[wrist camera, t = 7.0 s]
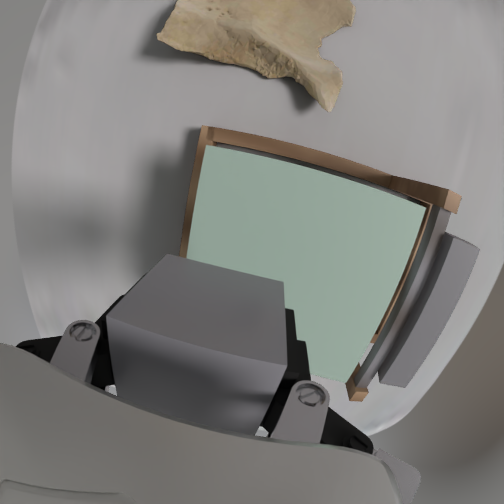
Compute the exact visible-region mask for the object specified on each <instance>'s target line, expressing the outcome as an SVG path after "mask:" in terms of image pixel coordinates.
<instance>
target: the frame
mask: <svg viewBox="0 0 504 504" xmlns="http://www.w3.org/2000/svg"><path fill="white" fill-rule="evenodd" d="M217 142H220V143H225V144H230V145H235V146H240V147H245V148H250V149H255V150H259V151H264V152H268V153H272V154H277V155H281V156H285V157H289V158H293V159H297V160H300V161H304V162H308V163H311V164H315V165H319V166H322V167H326V168H329V169H332V170H336V171H339V172H342V173H345V174H348V175H351V176H355V177H358V178H361V179H364V180H367V181H369V182H372V183H375V184H378V185H381V186H384V187H386V188H389V189H392V190H394V191H397V192H400V193H402V194H405V195H407V196H410V197H412V198H415V199H417V200H420V201H421V203H420V205H421V206H423V207H425V208H426V210H425V213H424V216H423V219H422V222H421V225H420V228H419V231H418V234H417V237H416V240H415V243H414V246H413V248H412V251H411V254H410V256H409V259H408V261H407V264H406V266H405V269H404V271H403V274H402V276H401V279H400V281H399V283H398V286H397V288H396V290H395V292H394V295H393V297H392V299H391V301H390V303H389V305H388V308H387V310H386V312H385V314H384V316H383V318H382V320H381V322H380V324H379V326H378V328H377V330H376V332H375V334H374V336H373V337H372V339H371V341H370V343H374V345H373V347H372V349H371V351H370V352H369V354H368V356H367V357H366V359H365V361H364V363H363V364H362V366H361V367H360V364H359V362H358V364H357V366H356V368H355V369H354V371H353V373H352V374H351V376H350V377H349V379H348V381H347V382H346V383H345V384H346V388H347V392H348V397H349V401H361V402H362V401H363V399H364V398H365V397H366V395H367V394H368V393H369V392H368V389H367V386H368V385H369V383H370V382H371V380H372V379H373V377H374V376H375V374H376V373H377V371H378V370H379V368H380V367H381V365H382V363H383V362H384V360H385V358H386V357H387V355H388V354H389V352H390V350H391V348H392V347H393V345H394V343H395V342H396V340H397V338H398V336H399V334H400V333H401V331H402V329H403V327H404V325H405V323H406V321H407V320H408V318H409V316H410V314H411V312H412V310H413V308H414V306H415V304H416V302H417V299H418V297H419V295H420V293H421V291H422V289H423V286H424V284H425V282H426V280H427V277H428V275H429V273H430V270H431V268H432V265H433V263H434V260H435V258H436V255H437V253H438V250H439V247H440V244H441V242H442V239H443V236H444V233H445V230H446V227H447V224H448V221H449V218H450V214H451V212H452V213H455V214H457V211H458V207H459V204H460V200H461V197H462V196H460V195H458V194H457V193H455V192H453V191H451V190H449V189H445V188H441V187H438V186H434V185H430V184H426V183H422V182H418V181H414V180H410V179H406V178H402V177H397V176H392V175H390V174H387V173H384V172H382V171H379V170H376V169H374V168H371V167H368V166H365V165H362V164H359V163H356V162H353V161H350V160H347V159H344V158H341V157H338V156H335V155H331V154H328V153H325V152H321V151H318V150H314V149H311V148H307V147H303V146H300V145H296V144H292V143H288V142H284V141H280V140H276V139H271V138H267V137H263V136H258V135H253V134H248V133H243V132H238V131H233V130H227V129H222V128H216V127H209V126H203V125H202V127H201V132H200V136H199V141H198V146H197V151H196V156H195V161H194V166H193V171H192V176H191V182H190V187H189V193H188V199H187V205H186V211H185V218H184V224H183V231H182V238H181V246H180V253H179V257H183V258H187V250H188V243H189V237H190V230H191V224H192V218H193V212H194V206H195V200H196V194H197V189H198V183H199V178H200V173H201V168H202V163H203V158H204V153H205V148H206V145H210V146H215V147H216V145H217Z"/></svg>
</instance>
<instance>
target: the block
mask: <svg viewBox="0 0 504 504" xmlns="http://www.w3.org/2000/svg"><path fill="white" fill-rule="evenodd" d="M106 320H107V331H108V340H109V348H110V355H111V362H112V369H113V375H114V381H115V386H116V391H117V396H118V397H121V398H123V399H126V400H128V401H131V402H133V403H136V404H139V405H141V406H144V407H147V408H150V409H152V410H155V411H158V412H161V413H164V414H168V415H171V416H174V417H177V418H181V419H184V420H188V421H191V422H195V423H199V424H203V425H207V426H211V427H215V428H219V429H224V430H228V431H233V432H238V433H244V434H249V435H255V433H256V432H257V430H258V428H259V426H260V424H261V422H262V420H263V418H264V416H265V414H266V411H267V409H268V407H269V405H270V403H271V401H272V399H273V397H274V395H275V392H276V390H277V388H278V386H279V384H280V381H281V379H282V377H283V375H284V372H285V370H286V368H287V342H286V319H285V299H284V282H282V281H278V280H273V279H269V278H265V277H261V276H256V275H252V274H248V273H244V272H240V271H236V270H231V269H227V268H223V267H219V266H215V265H211V264H207V263H203V262H199V261H195V260H191V259H187V258H183V257H179V256H175V255H171V254H168V253H167V254H166V255H165V256H164V257H163V258H162V259H161V260H160V261H159V262H158V263H157V264H156V265H155V266H154V267H153V268H152V269H151V270H150V271H149V272H148V273H147V274H146V275H145V276H144V277H143V278H142V279H141V280H140V281H139V282H138V283H137V284H136V285H135V286H134V287H133V288H132V289H131V290H130V291H129V292H128V293H127V294H126V295H125V296H124V298H123V299H122V300H121V301H120V302H119V303H118V304H117V305H116V306H115V307H114V308H113V309H112V310H111V311H110V312H109V313H108V314H107V315H106Z"/></svg>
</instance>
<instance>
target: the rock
mask: <svg viewBox="0 0 504 504" xmlns="http://www.w3.org/2000/svg"><path fill="white" fill-rule="evenodd" d="M355 12H356V9H355V7H354V5H353V4H352V3H351V2H350V0H177V2H176V4H175V8H174V10H173V11H172V13H171V15H170V16H169V18H168V19H167V21H166V23H165V25H164V27H163V29H162V31H161V33H156V35H157V38H158V40H160V41H162V42H164V43H166V44H168V45H169V46H171V47H173V48H175V49H176V50H181V51H186V52H192V53H195V54H199V55H202V56H204V57H207V58H209V59H212V60H215V61H219V62H223V63H228V64H235V65H238V66H242V67H248V68H251V69H253V70H255V71H259V73H261V74H262V75H263V76H266V77H267V78H280V77H285V76H287V77H293V78H294V79H295V81H296V82H298V83H300V84H301V85H303V86H305V89H306V90H307V91H308V93H309V94H310V95H311V96H312V97H313V98H314V99H316V100H317V101H318V103H319V104H320V105H321V107H322V108H324V109H325V110H326V111H327V112H331V111H332V108H333V107H334V106H335V102H336V100H337V97H338V94H339V92H340V89H341V87H342V85H343V81H342V71H340V69H339V68H338V67H336V66H335V64H334V63H333V62H332V61H328V60H324V59H322V58H321V57H320V56H319V51H318V48H319V47H321V45H322V44H321V43H322V41H321V39H322V38H324V37H326V36H329V35H330V34H333V33H334V32H336V30H338V29H340V28H341V27H349V26H350V27H351V26H352V23H353V18H354V15H355ZM283 79H284V78H283Z"/></svg>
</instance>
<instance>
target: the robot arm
mask: <svg viewBox="0 0 504 504" xmlns="http://www.w3.org/2000/svg"><path fill="white" fill-rule="evenodd" d="M146 274H147V273H146ZM146 274H145V275H146ZM145 275H144V276H145ZM144 276H143V277H144ZM143 277H142V278H143ZM142 278H141V279H142ZM141 279H140V280H141ZM140 280H139V281H140ZM139 281H138V282H139ZM138 282H137V283H138ZM137 283H136V284H137ZM136 284H135V285H136ZM135 285H134V286H135ZM134 286H133V287H134ZM133 287H132V288H133ZM132 288H131V289H132ZM131 289H130V290H131ZM130 290H129V291H130ZM129 291H128V292H129ZM128 292H127V293H128ZM127 293H126V294H127ZM126 294H125V295H126ZM125 295H122V296H120V297H119V298H118V299H117V300H116V301H115V302H114V303H113V304H112V305H111V306H110V308H109V309H108V310H107V311H106V312H105V313H104V314H103V315H102V316H101V317H100V318H99V319H98V320H97V321H96V322H95V323H94V322H91V321H88V320H78V321H75V322H72V323H71V324H70V325H69V326H68V327H67V328H66V330H65V332H64V334H63V336H57V337H50V338H42V339H35V340H27V341H23V342H21V343H19V344H18V345H17V346H16V347H15V346H12V345H7V344H3V343H0V504H411V502H412V500H413V498H414V496H415V494H416V491H417V489H418V486H419V484H420V480H421V477H420V473H419V472H418V470H416V469H415V468H414V467H413V466H410V465H409V464H407V463H405V462H403V461H401V460H399V459H397V458H396V457H394V456H392V455H390V454H388V453H387V452H385V451H383V450H381V449H378V450H375V449H373V444H372V442H371V440H370V439H369V438H368V437H367V436H366V435H365V434H364V433H362V432H361V431H360V430H358V429H357V428H356V427H354V426H353V425H352V424H350V423H349V422H348V421H346V420H345V419H344V418H342V417H341V416H340V415H338V414H337V413H336V412H335V411H333V410H332V409H331V408H330V407H328V406H329V401H330V396H329V393H328V391H327V390H326V389H325V388H324V387H323V386H322V385H320V384H318V383H316V382H313V381H311V377H310V369H309V361H308V353H307V345H306V342H305V341H302V340H297V335H296V325H295V315H294V310H293V309H288V308H285V319H286V342H287V368H286V370H285V372H284V375H283V377H282V379H281V381H280V384H279V386H278V388H277V390H276V392H275V395H274V397H273V399H272V401H271V403H270V405H269V407H268V409H267V411H266V414H265V416H264V418H263V420H262V422H261V424H260V426H262V427H264V428H265V429H266V430H267V431H268V434H267V436H266V437H261V436H255V435H249V434H244V433H238V432H233V431H228V430H224V429H219V428H215V427H211V426H207V425H203V424H199V423H195V422H191V421H188V420H184V419H181V418H177V417H174V416H171V415H168V414H164V413H161V412H158V411H155V410H152V409H150V408H147V407H144V406H141V405H139V404H136V403H133V402H131V401H128V400H126V399H123V398H121V397H118V396H116V395H113V394H111V393H109V392H108V391H109V385H115V381H114V375H113V369H112V362H111V355H110V348H109V340H108V331H107V320H106V315H107V314H108V313H109V312H110V311H111V310H112V309H113V308H114V307H115V306H116V305H117V304H118V303H119V302H120V301H121V300H122V299H123V298H124V296H125Z"/></svg>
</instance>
